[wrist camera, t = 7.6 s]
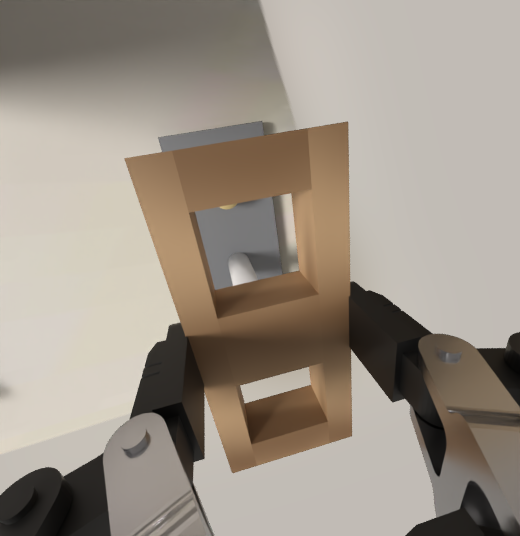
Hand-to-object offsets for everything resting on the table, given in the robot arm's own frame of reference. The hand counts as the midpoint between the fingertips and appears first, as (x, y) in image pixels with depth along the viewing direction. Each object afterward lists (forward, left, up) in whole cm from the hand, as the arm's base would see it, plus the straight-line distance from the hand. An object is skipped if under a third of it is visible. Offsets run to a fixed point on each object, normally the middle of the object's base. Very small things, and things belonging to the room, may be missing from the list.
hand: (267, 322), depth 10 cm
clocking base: (0, 0, -15) cm, 15 cm away
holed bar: (0, 0, -1) cm, 1 cm away
